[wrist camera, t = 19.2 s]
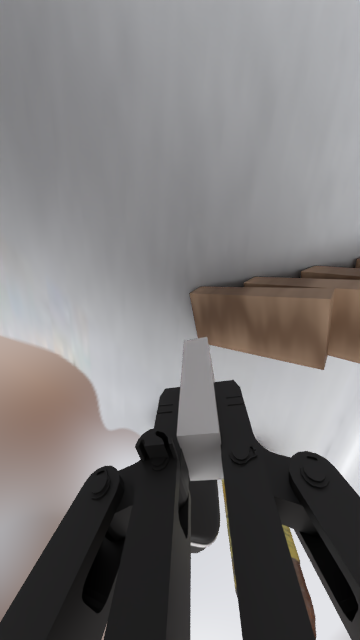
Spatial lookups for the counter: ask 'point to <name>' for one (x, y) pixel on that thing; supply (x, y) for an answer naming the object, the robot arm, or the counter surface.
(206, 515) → the battery charger
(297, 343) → the domino
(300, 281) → the domino
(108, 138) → the counter surface
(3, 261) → the counter surface
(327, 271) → the domino
